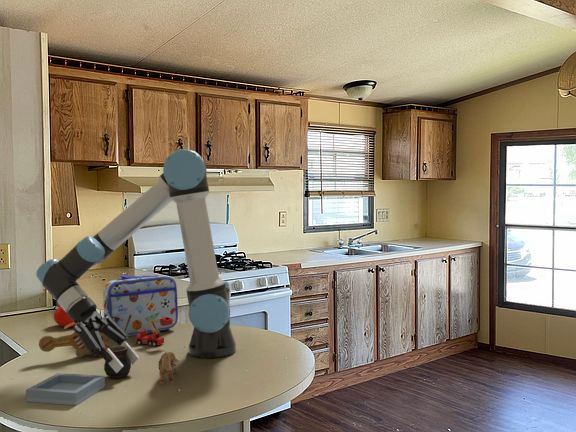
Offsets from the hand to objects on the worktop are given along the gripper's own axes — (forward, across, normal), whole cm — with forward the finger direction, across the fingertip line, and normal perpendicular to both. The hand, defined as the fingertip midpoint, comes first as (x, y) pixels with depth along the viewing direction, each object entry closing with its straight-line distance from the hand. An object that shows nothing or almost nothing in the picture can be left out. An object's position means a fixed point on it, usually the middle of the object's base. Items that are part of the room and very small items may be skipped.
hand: (128, 365), depth 155 cm
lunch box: (-15, -46, -20) cm, 52 cm away
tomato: (-38, -48, -44) cm, 76 cm away
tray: (-3, +16, -8) cm, 18 cm away
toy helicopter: (-16, -13, -22) cm, 30 cm away
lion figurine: (+11, -2, +6) cm, 13 cm away
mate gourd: (0, 0, -5) cm, 5 cm away
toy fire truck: (-5, -32, -11) cm, 35 cm away
